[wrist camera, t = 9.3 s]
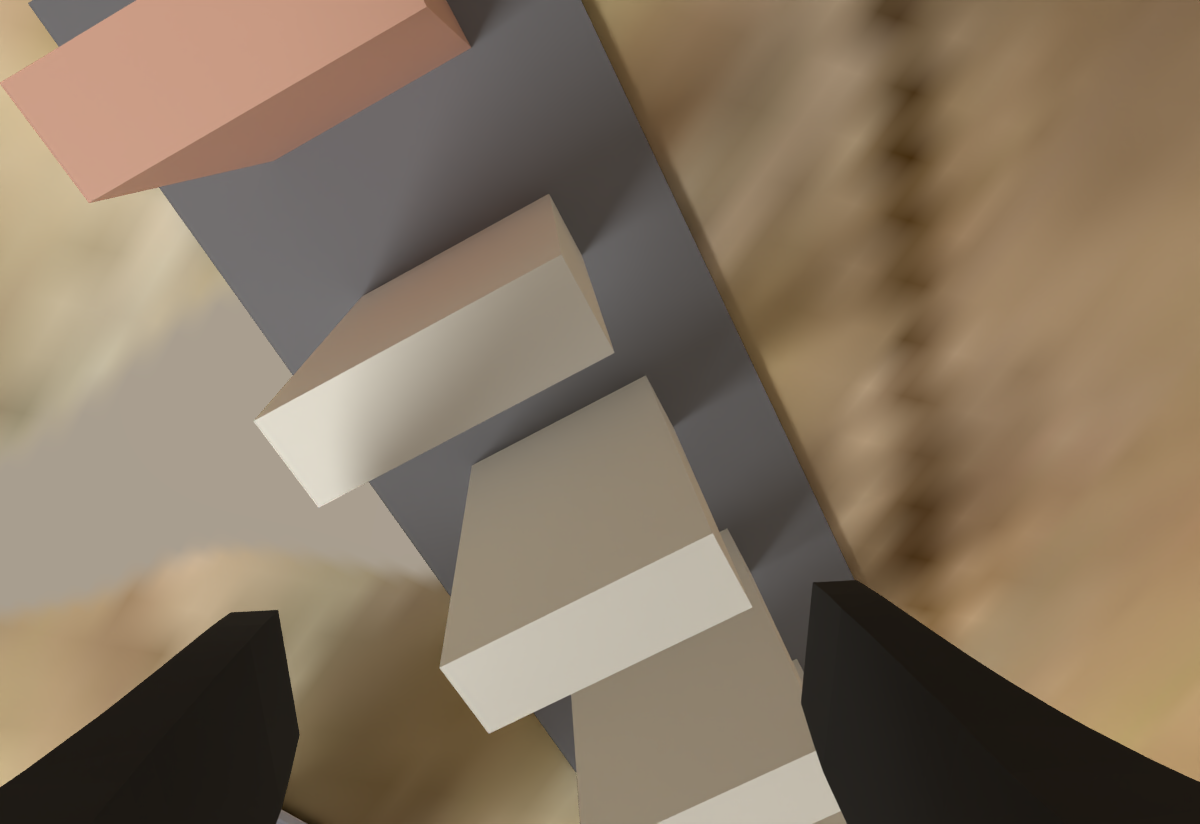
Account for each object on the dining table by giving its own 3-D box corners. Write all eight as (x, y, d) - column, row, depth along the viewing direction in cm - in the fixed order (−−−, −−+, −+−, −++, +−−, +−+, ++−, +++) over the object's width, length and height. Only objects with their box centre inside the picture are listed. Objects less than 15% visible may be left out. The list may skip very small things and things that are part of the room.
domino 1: (471, 47, 17) (427, 6, 10) (273, 161, 18) (88, 203, 10) (431, -28, 17) (353, -132, 9) (228, 91, 17) (-1, 83, 10)
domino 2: (581, 255, 19) (614, 353, 12) (399, 353, 20) (318, 507, 12) (549, 193, 19) (561, 254, 11) (361, 296, 19) (253, 421, 12)
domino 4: (750, 572, 23) (858, 802, 15) (591, 649, 23) (621, 909, 16) (727, 528, 22) (827, 745, 15) (565, 608, 23) (582, 857, 15)
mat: (922, 727, 26) (927, 734, 25) (639, 855, 27) (641, 864, 26) (457, -257, 16) (456, -264, 15) (36, 4, 17) (27, 3, 16)
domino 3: (673, 427, 21) (752, 607, 13) (503, 513, 21) (489, 733, 14) (646, 375, 20) (712, 533, 13) (471, 465, 21) (439, 668, 13)
